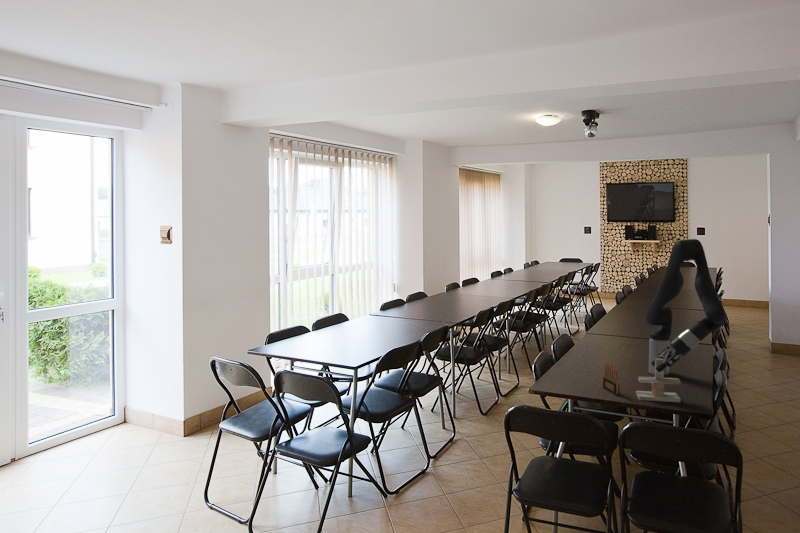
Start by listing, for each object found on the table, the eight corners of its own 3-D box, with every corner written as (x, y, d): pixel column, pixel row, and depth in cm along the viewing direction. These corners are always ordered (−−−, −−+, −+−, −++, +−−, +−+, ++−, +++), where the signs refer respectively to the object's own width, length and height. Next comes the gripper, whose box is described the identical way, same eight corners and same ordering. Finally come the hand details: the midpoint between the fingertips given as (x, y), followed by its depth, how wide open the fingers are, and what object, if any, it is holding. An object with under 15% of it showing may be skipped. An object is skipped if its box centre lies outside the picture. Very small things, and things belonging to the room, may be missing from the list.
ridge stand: (635, 394, 240) (636, 378, 239) (675, 396, 236) (675, 380, 236) (639, 400, 232) (639, 383, 232) (680, 402, 229) (680, 385, 228)
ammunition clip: (619, 395, 239) (620, 368, 238) (615, 395, 239) (616, 368, 238) (606, 387, 250) (606, 361, 249) (602, 387, 249) (603, 362, 248)
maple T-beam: (637, 379, 237) (638, 357, 237) (678, 381, 234) (678, 358, 233) (639, 382, 234) (640, 359, 233) (680, 384, 230) (681, 361, 229)
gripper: (674, 332, 237) (644, 357, 241) (683, 339, 223) (652, 365, 227) (687, 344, 236) (657, 369, 240) (696, 352, 222) (665, 379, 226)
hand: (655, 367), depth 233 cm, fingers open, 8 cm apart
